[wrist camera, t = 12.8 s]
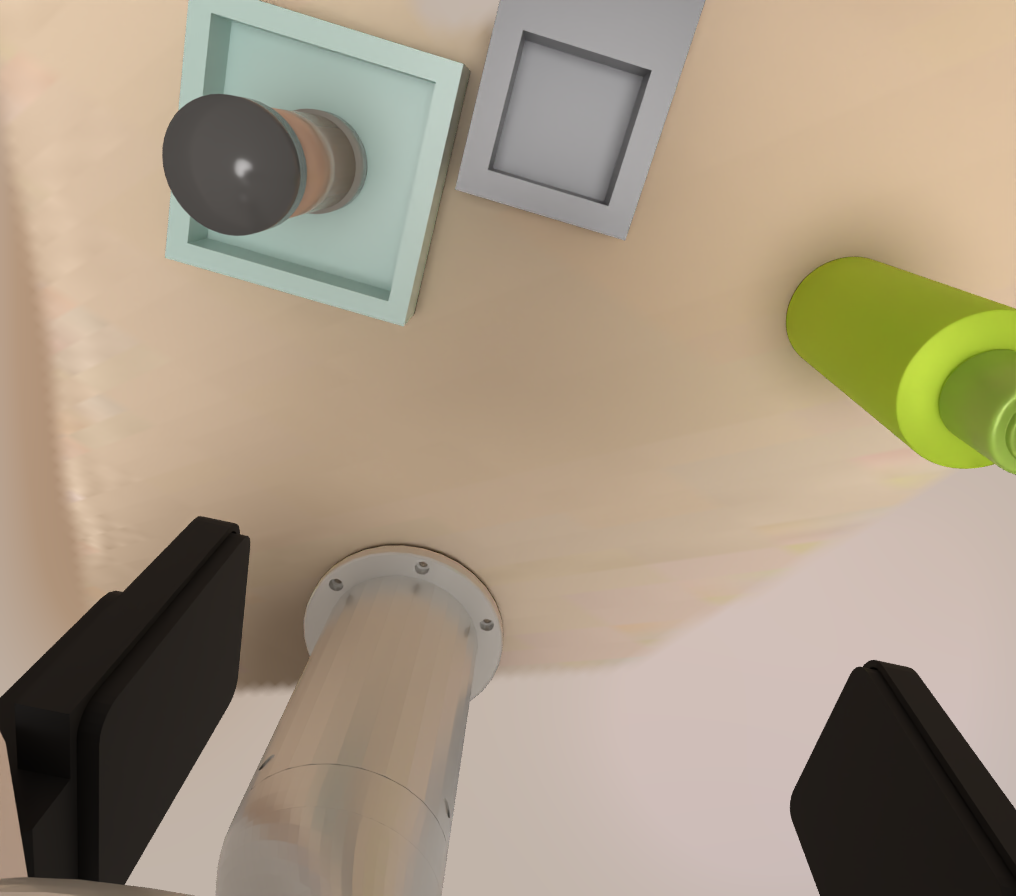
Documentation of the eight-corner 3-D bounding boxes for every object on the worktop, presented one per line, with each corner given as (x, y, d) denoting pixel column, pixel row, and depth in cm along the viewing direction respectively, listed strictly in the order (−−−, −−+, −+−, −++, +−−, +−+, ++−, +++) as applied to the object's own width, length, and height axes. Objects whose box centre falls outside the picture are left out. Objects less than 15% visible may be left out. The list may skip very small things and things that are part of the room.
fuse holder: (617, 231, 37) (625, 240, 33) (464, 185, 36) (454, 189, 32) (761, -207, 30) (791, -257, 26) (575, -270, 29) (578, -331, 26)
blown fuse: (357, 223, 36) (282, 251, 26) (267, 196, 36) (156, 214, 26) (375, 126, 35) (303, 116, 24) (281, 97, 34) (168, 76, 24)
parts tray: (414, 313, 39) (403, 326, 36) (192, 249, 38) (164, 257, 35) (470, 70, 34) (463, 64, 31) (220, -7, 34) (190, -21, 31)
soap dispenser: (837, 404, 39) (1089, 629, 21) (763, 309, 38) (968, 463, 19) (935, 334, 38) (1305, 512, 19) (863, 231, 36) (1193, 318, 18)
